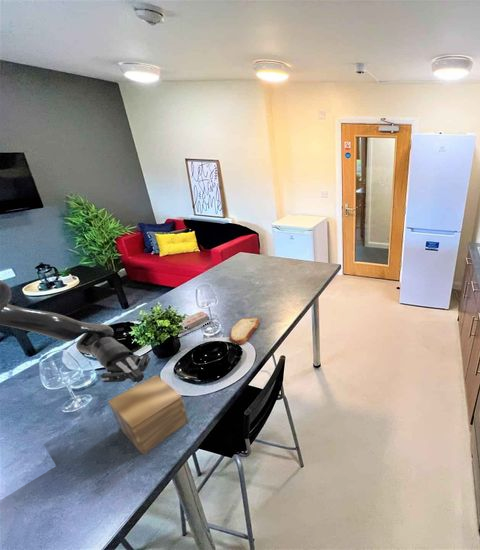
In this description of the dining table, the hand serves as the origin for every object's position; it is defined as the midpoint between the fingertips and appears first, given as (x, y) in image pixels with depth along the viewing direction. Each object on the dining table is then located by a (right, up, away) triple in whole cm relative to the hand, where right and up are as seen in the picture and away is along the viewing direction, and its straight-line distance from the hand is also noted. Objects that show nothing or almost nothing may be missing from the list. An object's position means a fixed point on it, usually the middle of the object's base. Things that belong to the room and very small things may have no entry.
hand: (139, 378), depth 86 cm
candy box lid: (-2, -8, +5) cm, 10 cm away
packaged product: (-24, +4, +63) cm, 68 cm away
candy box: (-3, -21, +10) cm, 23 cm away
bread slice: (+6, +2, +62) cm, 62 cm away
